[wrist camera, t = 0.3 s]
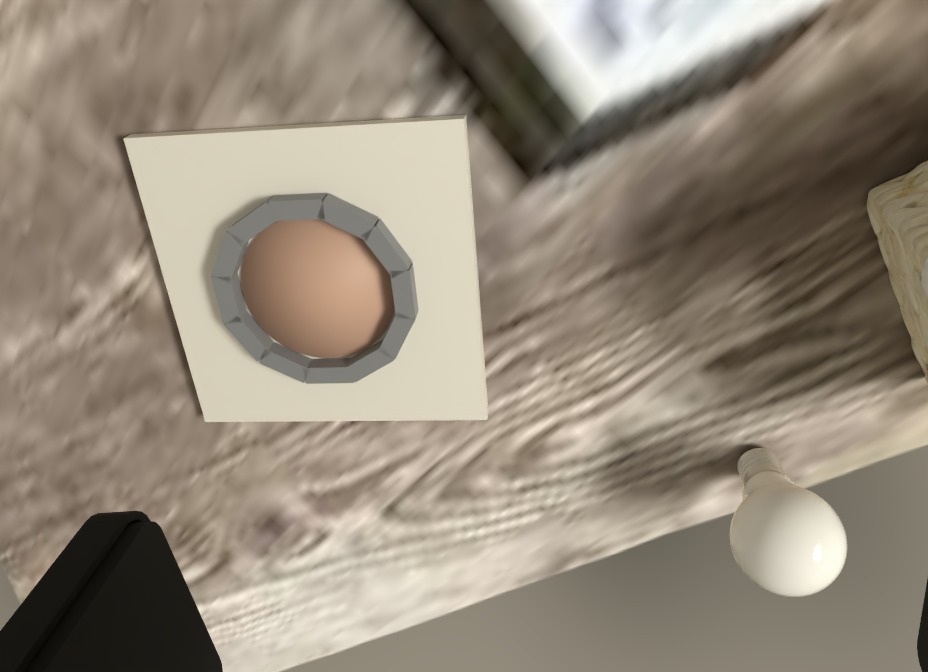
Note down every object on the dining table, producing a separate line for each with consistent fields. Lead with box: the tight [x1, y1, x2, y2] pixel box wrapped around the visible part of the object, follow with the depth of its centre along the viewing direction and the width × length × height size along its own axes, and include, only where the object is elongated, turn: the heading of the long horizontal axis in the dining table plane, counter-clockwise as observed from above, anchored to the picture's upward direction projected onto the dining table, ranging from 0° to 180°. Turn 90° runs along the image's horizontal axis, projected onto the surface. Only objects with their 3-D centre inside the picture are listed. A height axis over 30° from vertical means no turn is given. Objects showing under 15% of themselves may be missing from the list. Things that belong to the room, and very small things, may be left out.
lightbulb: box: [730, 448, 847, 597], centre depth 47 cm, size 6×6×11 cm
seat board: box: [123, 115, 488, 422], centre depth 47 cm, size 20×20×2 cm
